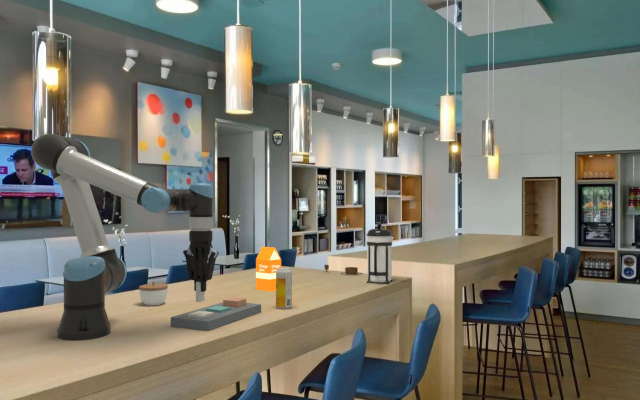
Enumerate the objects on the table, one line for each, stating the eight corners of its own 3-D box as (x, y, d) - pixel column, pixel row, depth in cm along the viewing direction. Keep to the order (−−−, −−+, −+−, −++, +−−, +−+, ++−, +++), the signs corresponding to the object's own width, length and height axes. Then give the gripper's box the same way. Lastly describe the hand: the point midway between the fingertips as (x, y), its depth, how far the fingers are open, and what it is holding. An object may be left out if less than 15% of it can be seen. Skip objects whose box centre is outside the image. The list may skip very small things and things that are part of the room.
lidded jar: (138, 308, 208) (138, 284, 208) (139, 303, 218) (139, 280, 218) (167, 307, 210) (167, 283, 211) (167, 302, 221) (167, 279, 221)
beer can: (283, 305, 213) (283, 267, 213) (295, 307, 209) (295, 268, 210) (272, 308, 209) (272, 268, 209) (284, 310, 205) (284, 270, 205)
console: (208, 330, 172) (208, 321, 172) (170, 326, 178) (170, 317, 178) (261, 312, 201) (261, 304, 201) (227, 308, 207) (227, 301, 207)
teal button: (220, 319, 185) (220, 310, 185) (206, 317, 188) (206, 308, 188) (230, 315, 191) (230, 307, 191) (216, 314, 193) (216, 305, 193)
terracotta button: (237, 309, 194) (237, 301, 194) (223, 308, 197) (223, 300, 197) (246, 306, 200) (246, 298, 200) (232, 305, 202) (232, 297, 202)
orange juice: (267, 288, 256) (267, 246, 256) (281, 290, 250) (281, 247, 250) (255, 290, 250) (255, 247, 250) (269, 292, 244) (269, 248, 244)
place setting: (347, 279, 292) (347, 268, 292) (322, 275, 307) (322, 265, 307) (369, 276, 304) (369, 265, 304) (344, 272, 319) (344, 262, 319)
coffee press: (357, 282, 274) (357, 223, 274) (384, 280, 281) (384, 222, 281) (374, 287, 259) (374, 224, 259) (403, 285, 265) (403, 223, 266)
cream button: (202, 325, 176) (202, 315, 176) (187, 323, 179) (187, 314, 179) (213, 321, 182) (213, 312, 182) (199, 319, 184) (199, 310, 184)
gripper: (224, 230, 181) (223, 301, 181) (192, 228, 186) (191, 297, 186) (210, 231, 174) (209, 304, 174) (177, 229, 180) (176, 301, 180)
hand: (200, 301), depth 180 cm, fingers closed
